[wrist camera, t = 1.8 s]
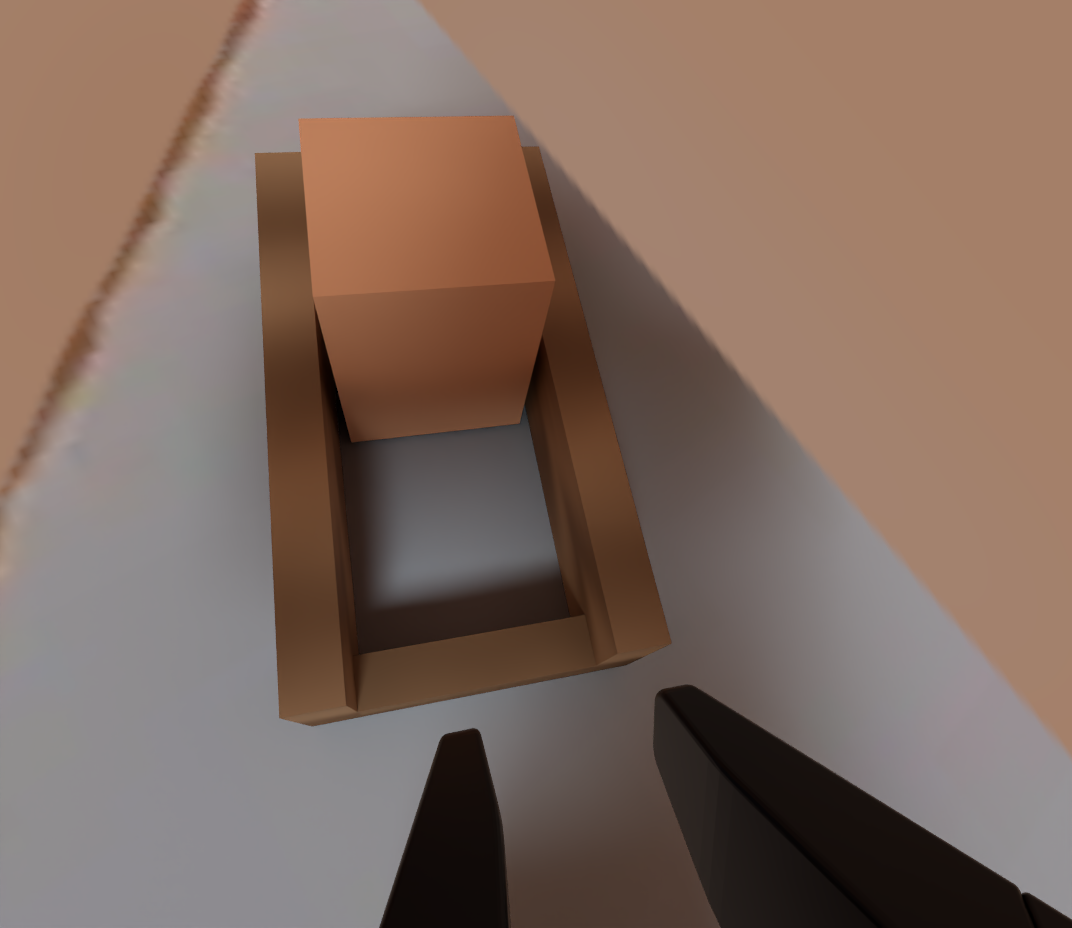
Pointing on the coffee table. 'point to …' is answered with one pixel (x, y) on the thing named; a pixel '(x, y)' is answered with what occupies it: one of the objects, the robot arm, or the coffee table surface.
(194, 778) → the coffee table surface
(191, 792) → the coffee table surface
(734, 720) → the robot arm
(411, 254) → the terracotta block
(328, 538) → the walnut chute
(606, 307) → the coffee table surface
